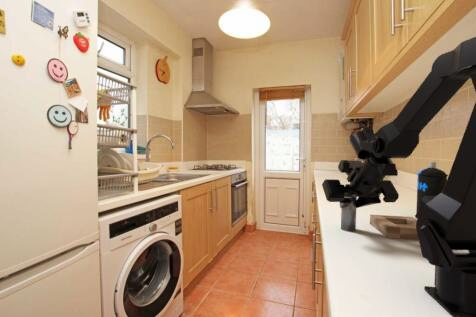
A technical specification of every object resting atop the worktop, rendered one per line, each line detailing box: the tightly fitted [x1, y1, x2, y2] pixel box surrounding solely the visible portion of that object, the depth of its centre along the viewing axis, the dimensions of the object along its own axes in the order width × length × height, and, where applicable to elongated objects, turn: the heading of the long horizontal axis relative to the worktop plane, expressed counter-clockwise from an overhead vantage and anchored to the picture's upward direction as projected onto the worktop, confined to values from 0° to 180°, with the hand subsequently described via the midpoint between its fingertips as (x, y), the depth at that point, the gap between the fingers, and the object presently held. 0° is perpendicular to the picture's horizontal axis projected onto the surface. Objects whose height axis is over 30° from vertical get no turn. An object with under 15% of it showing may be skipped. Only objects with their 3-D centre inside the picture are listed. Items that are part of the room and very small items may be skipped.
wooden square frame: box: [369, 214, 419, 241], centre depth 67 cm, size 12×12×3 cm
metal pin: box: [340, 195, 358, 233], centre depth 68 cm, size 4×4×12 cm
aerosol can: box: [415, 161, 449, 219], centre depth 79 cm, size 8×8×20 cm
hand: (347, 206), depth 69 cm, fingers closed on metal pin, 4 cm apart
